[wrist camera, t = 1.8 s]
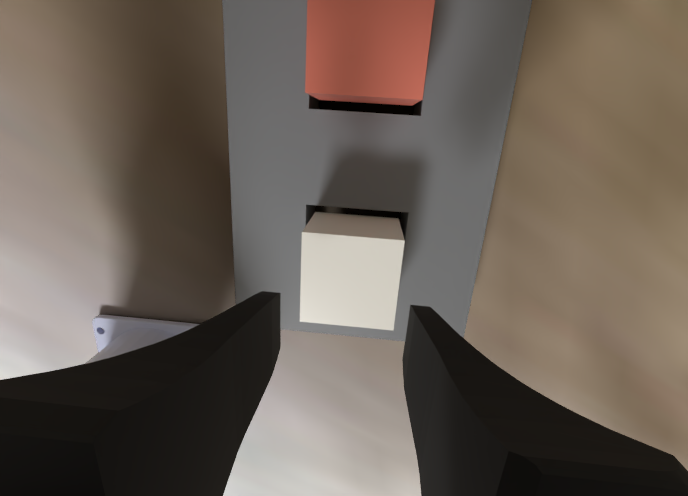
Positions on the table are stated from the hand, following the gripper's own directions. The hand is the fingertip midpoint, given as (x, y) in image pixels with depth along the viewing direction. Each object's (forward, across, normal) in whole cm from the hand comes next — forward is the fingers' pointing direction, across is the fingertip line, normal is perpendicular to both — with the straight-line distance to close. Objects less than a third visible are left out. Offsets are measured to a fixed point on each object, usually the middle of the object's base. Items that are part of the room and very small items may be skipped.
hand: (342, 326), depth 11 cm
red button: (+7, 0, -9) cm, 11 cm away
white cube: (+7, 0, 0) cm, 7 cm away
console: (+9, 0, -4) cm, 10 cm away
